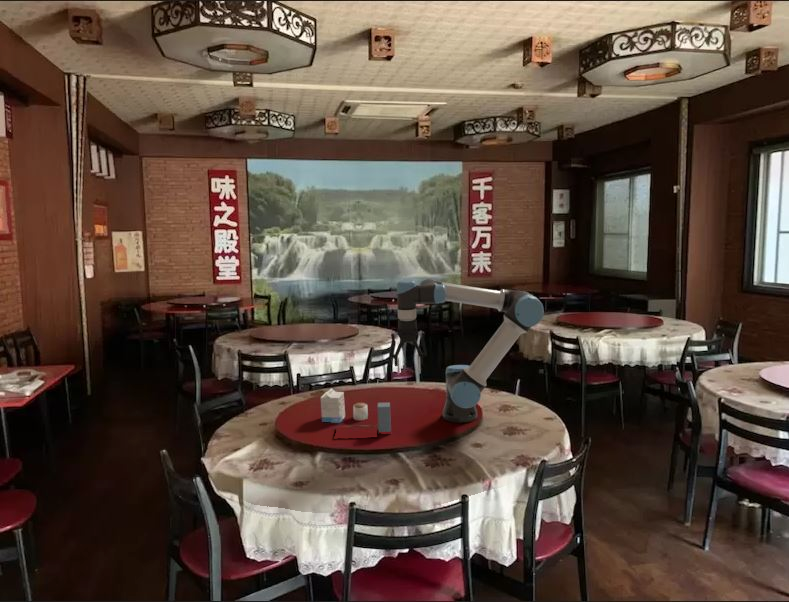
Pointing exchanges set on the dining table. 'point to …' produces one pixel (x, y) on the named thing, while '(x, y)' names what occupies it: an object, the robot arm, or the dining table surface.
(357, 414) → the white ceramic teacup
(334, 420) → the ink box
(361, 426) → the tea board
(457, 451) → the dining table surface
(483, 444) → the dining table surface
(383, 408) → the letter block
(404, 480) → the dining table surface
